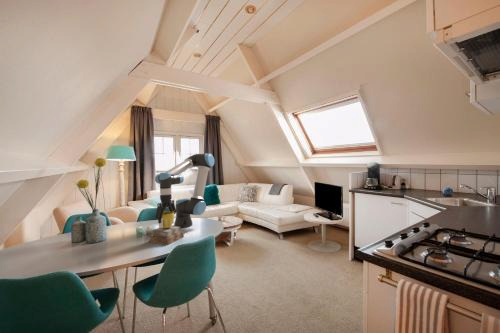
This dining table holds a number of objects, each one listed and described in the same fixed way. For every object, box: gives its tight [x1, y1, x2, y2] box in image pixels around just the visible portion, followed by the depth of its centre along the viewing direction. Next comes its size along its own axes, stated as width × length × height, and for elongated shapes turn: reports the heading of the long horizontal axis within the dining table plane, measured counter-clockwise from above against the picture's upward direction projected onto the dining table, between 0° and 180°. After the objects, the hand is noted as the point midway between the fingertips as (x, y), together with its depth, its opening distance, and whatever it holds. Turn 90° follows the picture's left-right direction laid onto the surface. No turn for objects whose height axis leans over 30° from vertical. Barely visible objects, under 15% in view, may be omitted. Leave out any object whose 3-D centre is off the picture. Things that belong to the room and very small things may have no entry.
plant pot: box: [162, 210, 175, 228], centre depth 157 cm, size 10×10×10 cm
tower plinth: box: [149, 225, 185, 246], centre depth 157 cm, size 16×16×8 cm
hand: (166, 225), depth 157 cm, fingers closed on plant pot, 10 cm apart
